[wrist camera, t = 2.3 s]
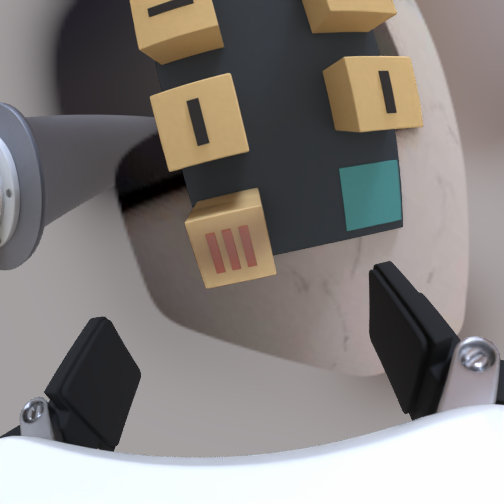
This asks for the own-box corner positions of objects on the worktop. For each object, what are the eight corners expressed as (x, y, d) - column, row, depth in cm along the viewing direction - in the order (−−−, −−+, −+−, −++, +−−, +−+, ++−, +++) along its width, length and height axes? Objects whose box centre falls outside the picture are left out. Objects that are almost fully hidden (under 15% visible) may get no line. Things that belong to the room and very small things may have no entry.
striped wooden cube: (270, 244, 21) (277, 275, 17) (213, 256, 21) (205, 290, 17) (257, 187, 19) (261, 205, 15) (196, 201, 19) (183, 223, 15)
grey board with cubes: (400, 225, 21) (434, 251, 16) (211, 266, 22) (203, 304, 17) (352, -21, 13) (376, -50, 8) (145, 10, 14) (119, -16, 9)
